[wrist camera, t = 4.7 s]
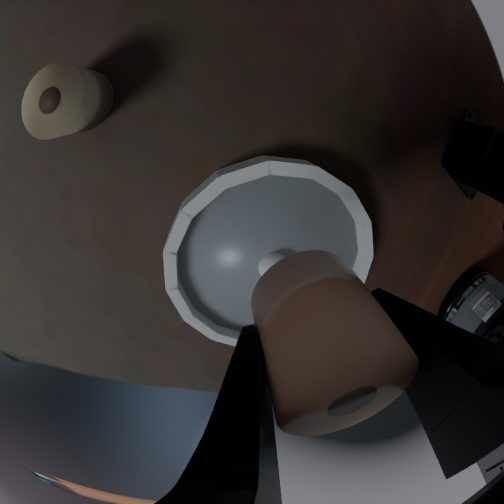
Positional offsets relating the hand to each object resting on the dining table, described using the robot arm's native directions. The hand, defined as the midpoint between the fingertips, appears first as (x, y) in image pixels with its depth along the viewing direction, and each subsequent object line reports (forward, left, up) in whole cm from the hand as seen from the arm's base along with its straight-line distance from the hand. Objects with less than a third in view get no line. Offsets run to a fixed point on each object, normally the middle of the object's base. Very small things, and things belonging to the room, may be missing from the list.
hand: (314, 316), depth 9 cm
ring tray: (-2, +3, -10) cm, 11 cm away
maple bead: (+14, -2, -10) cm, 17 cm away
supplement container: (-29, -2, -10) cm, 31 cm away
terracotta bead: (0, 0, -1) cm, 1 cm away
